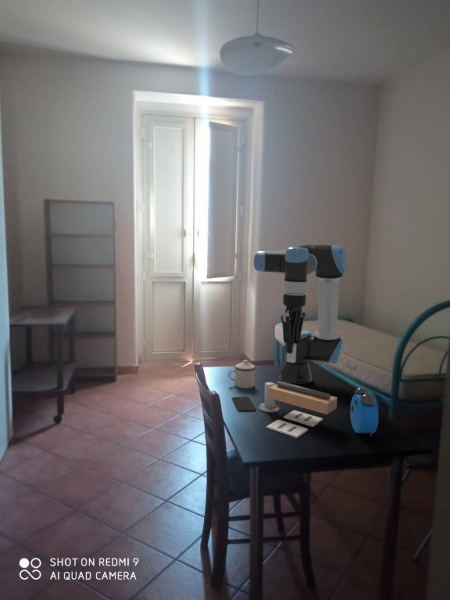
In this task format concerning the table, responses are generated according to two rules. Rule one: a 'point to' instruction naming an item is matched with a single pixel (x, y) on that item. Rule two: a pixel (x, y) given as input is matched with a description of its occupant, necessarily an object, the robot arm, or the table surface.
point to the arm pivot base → (265, 409)
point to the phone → (243, 404)
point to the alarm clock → (364, 412)
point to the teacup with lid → (243, 375)
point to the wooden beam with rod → (299, 397)
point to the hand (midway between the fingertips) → (290, 361)
